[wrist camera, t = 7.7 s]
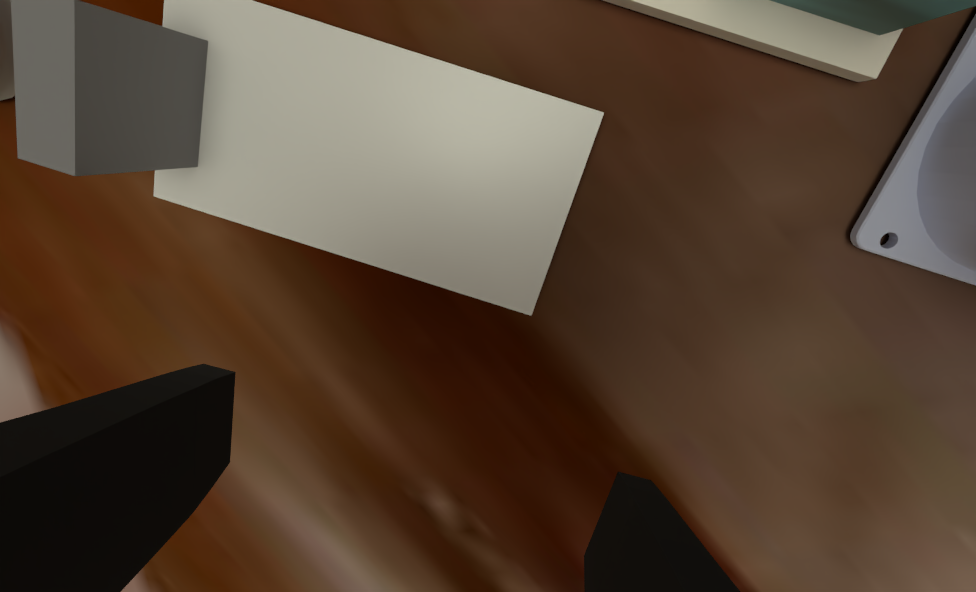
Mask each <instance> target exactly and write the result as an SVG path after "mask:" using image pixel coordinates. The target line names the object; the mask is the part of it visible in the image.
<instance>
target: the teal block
mask: <svg viewBox="0 0 976 592" xmlns="http://www.w3.org/2000/svg"><path fill="white" fill-rule="evenodd" d="M770 1H773V2H777V3H780V4H783V5H786V6H789V7H792V8H795V9H798V10H802V11H805V12H808V13H811V14H814V15H817V16H820V17H823V18H826V19H830V20H833V21H836V22H839V23H842V24H845V25H848V26H851V27H854V28H858V29H861V30H864V31H867V32H870V33H873V34H876V35H879V36H880V35H883V34H886V33H889V32H893V31H896V30H899V29H902V28H906V27H909V26H912V25H915V24H919V23H922V22H925V21H928V20H932V19H935V18H938V17H941V16H944V15H948V14H951V13H954V12H957V11H961V10H964V9H967V8H970V7H974V6H976V0H770Z"/></svg>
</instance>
